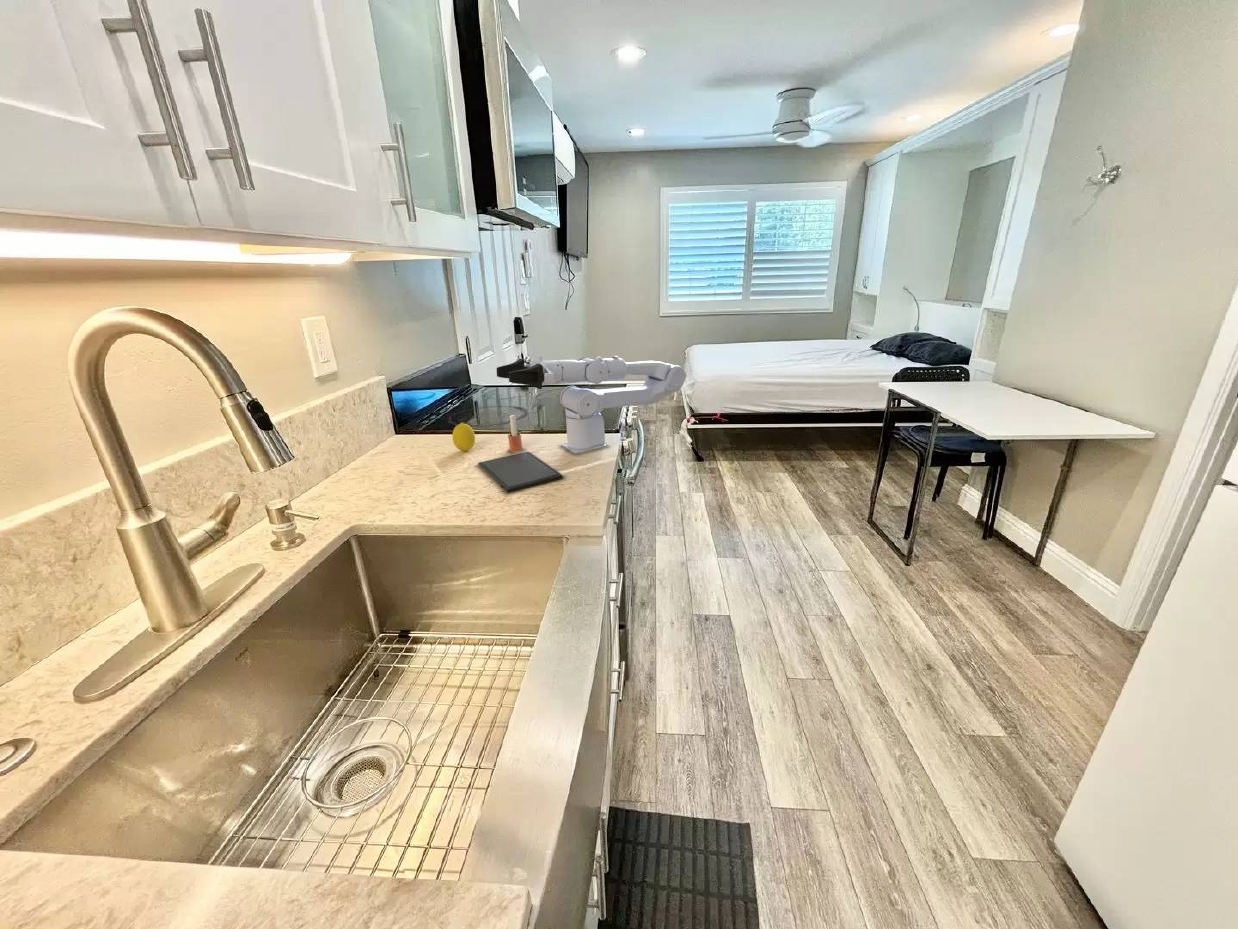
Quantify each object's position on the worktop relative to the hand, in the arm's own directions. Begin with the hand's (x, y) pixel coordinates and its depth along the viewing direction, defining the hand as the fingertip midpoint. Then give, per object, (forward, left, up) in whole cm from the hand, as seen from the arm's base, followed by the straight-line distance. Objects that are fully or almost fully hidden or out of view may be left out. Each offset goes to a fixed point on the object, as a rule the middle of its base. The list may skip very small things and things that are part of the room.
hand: (503, 374), depth 111 cm
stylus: (-4, -8, -21) cm, 23 cm away
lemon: (+7, -15, -22) cm, 27 cm away
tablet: (+1, +6, -22) cm, 23 cm away
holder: (-4, -8, -22) cm, 24 cm away
